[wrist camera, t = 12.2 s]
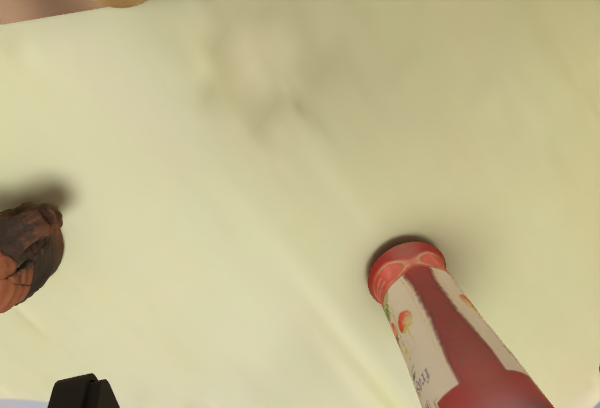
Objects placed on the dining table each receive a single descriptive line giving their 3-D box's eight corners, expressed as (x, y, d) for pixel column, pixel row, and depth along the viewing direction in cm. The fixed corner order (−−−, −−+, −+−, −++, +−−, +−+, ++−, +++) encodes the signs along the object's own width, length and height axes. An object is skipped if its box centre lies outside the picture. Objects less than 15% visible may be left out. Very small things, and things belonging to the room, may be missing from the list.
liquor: (355, 244, 46) (536, 627, 22) (438, 221, 46) (709, 572, 22) (368, 310, 50) (535, 699, 26) (445, 287, 50) (683, 651, 26)
